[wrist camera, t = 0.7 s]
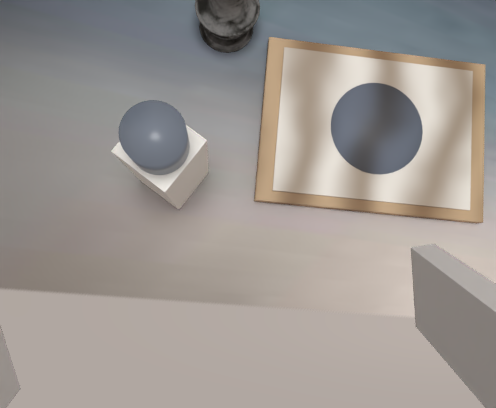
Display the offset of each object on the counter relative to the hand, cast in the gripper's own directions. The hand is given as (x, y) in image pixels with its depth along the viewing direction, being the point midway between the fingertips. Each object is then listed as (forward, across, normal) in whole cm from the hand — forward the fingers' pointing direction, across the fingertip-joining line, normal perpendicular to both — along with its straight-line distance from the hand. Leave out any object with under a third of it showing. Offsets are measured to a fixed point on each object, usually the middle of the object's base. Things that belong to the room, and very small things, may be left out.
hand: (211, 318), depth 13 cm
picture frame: (+29, +15, +2) cm, 32 cm away
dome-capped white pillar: (+26, -5, +1) cm, 27 cm away
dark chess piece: (+32, +2, +14) cm, 35 cm away
